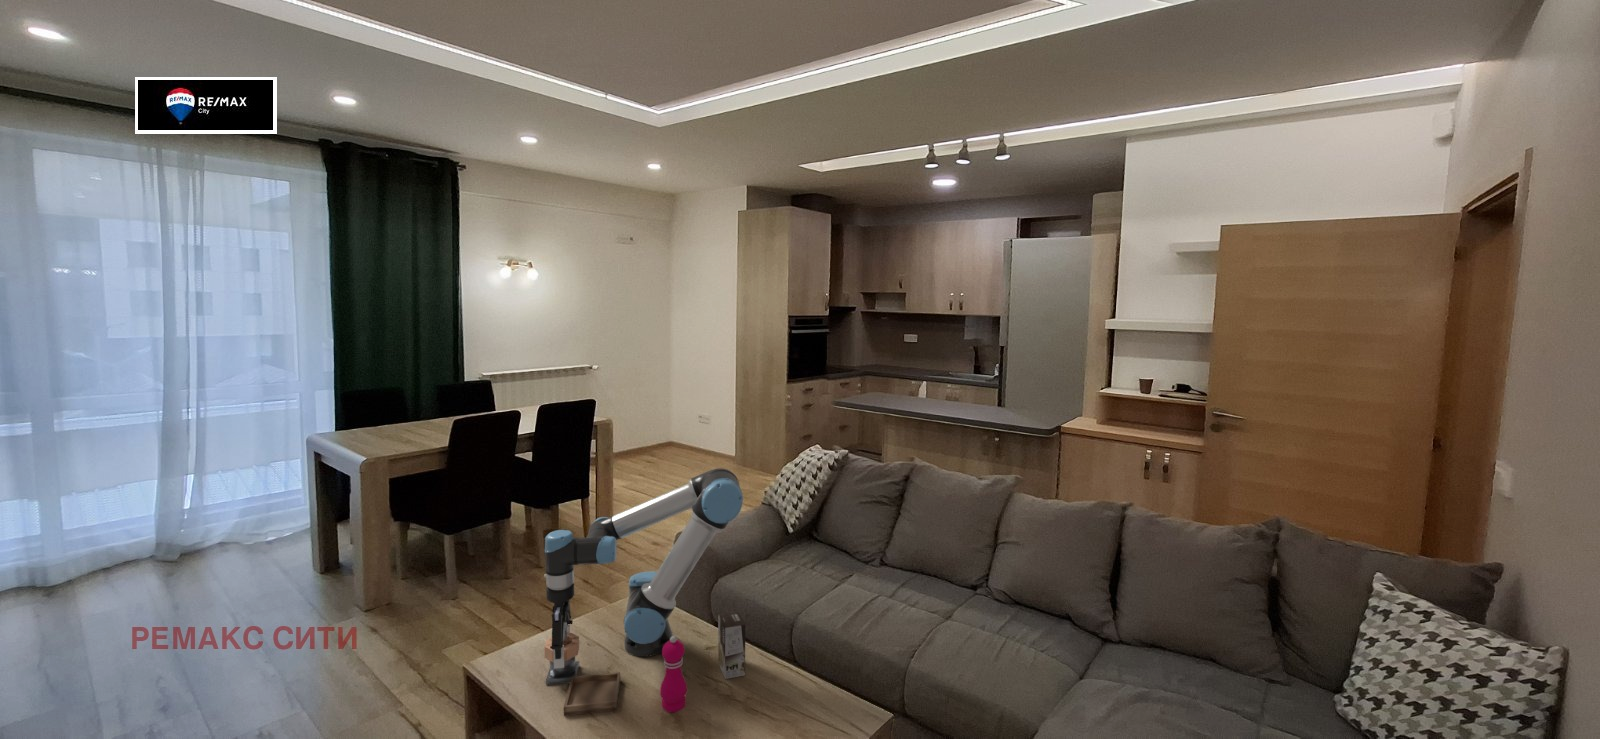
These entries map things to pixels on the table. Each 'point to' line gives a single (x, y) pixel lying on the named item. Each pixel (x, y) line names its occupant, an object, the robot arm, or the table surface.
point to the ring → (569, 649)
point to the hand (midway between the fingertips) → (562, 656)
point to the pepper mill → (673, 676)
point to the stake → (563, 673)
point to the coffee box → (731, 644)
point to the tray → (592, 694)
